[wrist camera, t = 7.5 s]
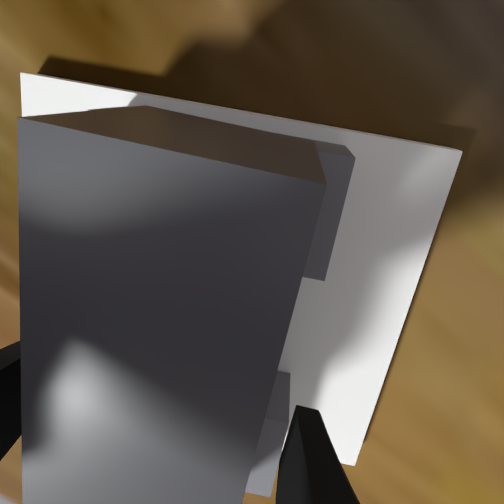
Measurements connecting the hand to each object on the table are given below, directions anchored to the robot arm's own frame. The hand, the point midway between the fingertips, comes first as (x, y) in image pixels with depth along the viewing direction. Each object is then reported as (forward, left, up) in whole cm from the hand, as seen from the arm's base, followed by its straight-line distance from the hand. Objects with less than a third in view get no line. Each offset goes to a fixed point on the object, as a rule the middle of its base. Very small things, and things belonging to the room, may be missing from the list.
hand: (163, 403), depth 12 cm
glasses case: (0, 0, -3) cm, 4 cm away
